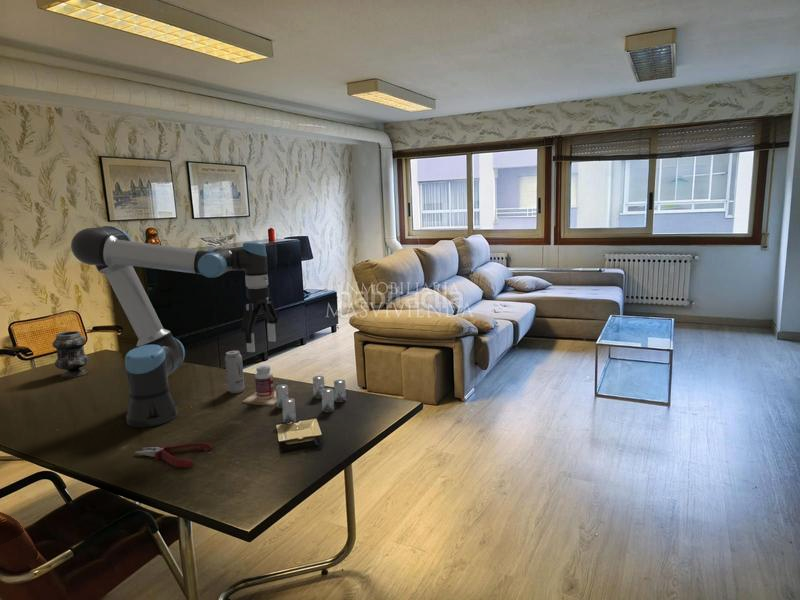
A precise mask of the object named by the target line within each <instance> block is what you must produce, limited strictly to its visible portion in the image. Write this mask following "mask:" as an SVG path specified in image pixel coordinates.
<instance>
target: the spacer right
mask: <svg viewBox="0 0 800 600" xmlns="http://www.w3.org/2000/svg"><path fill="white" fill-rule="evenodd" d="M321 393H322V398H321V406H322V408H321V410H322V411H323V410H324V411H331V410H334V409H335V397H334V388H330V387H329V388H328V387H327V388H325V389H323V390H321ZM334 411H335V410H334Z"/></svg>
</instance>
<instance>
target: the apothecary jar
mask: <svg viewBox="0 0 800 600" xmlns="http://www.w3.org/2000/svg"><path fill="white" fill-rule="evenodd" d="M55 336H56V337H55V339H54V340H53V341H52V344H51V345H52V347H53V348H54V349H56V354H57V359H56V360H55V361H54V366H55V367H56V368H57V369H59V370H63V371H64V370H65V371H64V372H63V373H61V374H60V376H59V378H61V379H74V378H77V376H78V377H81V375H82V376H84V375H86V374H87V373H88V370H87V369H83V368H82V367H84V366H86V365H87V364H88V363H89V360H90V359H89V356H87V354H85V348H84V345H85V343H87V340H86V338H85V337H84V336H83V335H82V334H81V332H80V331H79V330H71V331H70V330H69V331H62V332H58V333H56V335H55Z"/></svg>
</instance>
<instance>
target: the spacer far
mask: <svg viewBox="0 0 800 600" xmlns="http://www.w3.org/2000/svg"><path fill="white" fill-rule="evenodd" d="M312 389H313V391H312V392H313V398H314V397H322V393H321V390H323V389H326V388H325V376H323V375H314V376H313V377H312Z"/></svg>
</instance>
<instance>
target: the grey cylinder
mask: <svg viewBox="0 0 800 600" xmlns="http://www.w3.org/2000/svg"><path fill="white" fill-rule="evenodd" d="M346 388H347V386H346V380H345V379H335V380H334V381H333V390H334V402H335V401H344V400H346V401H347V391H346V390H347V389H346Z"/></svg>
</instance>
